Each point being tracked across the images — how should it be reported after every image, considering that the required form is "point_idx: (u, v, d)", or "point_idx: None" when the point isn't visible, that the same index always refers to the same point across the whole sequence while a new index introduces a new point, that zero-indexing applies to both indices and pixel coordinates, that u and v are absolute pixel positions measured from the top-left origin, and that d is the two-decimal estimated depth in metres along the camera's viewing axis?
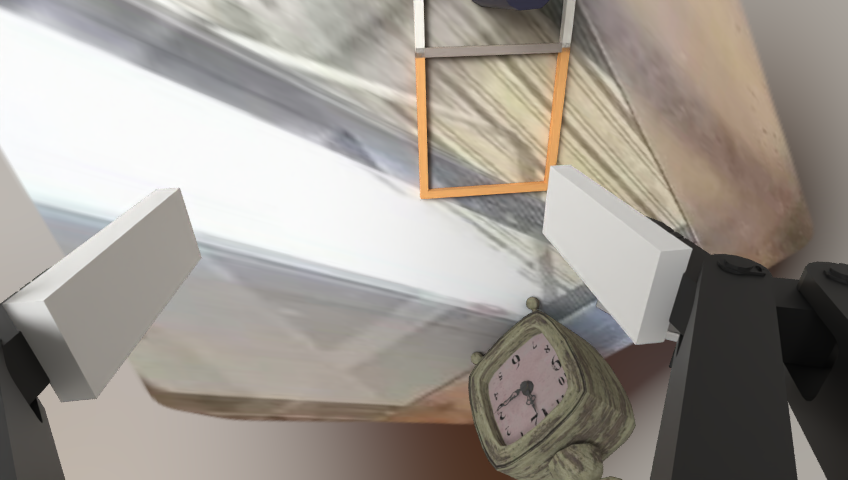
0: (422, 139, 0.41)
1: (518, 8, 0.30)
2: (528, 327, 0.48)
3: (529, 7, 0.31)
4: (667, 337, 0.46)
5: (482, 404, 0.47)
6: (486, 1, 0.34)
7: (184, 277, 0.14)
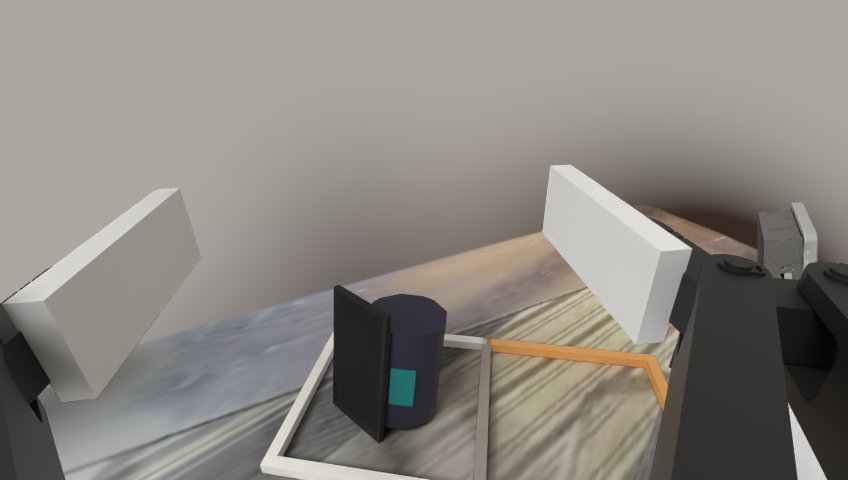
0: None
1: (443, 325, 0.28)
2: None
3: (444, 318, 0.29)
4: (808, 221, 0.39)
5: None
6: (430, 383, 0.29)
7: (184, 277, 0.14)
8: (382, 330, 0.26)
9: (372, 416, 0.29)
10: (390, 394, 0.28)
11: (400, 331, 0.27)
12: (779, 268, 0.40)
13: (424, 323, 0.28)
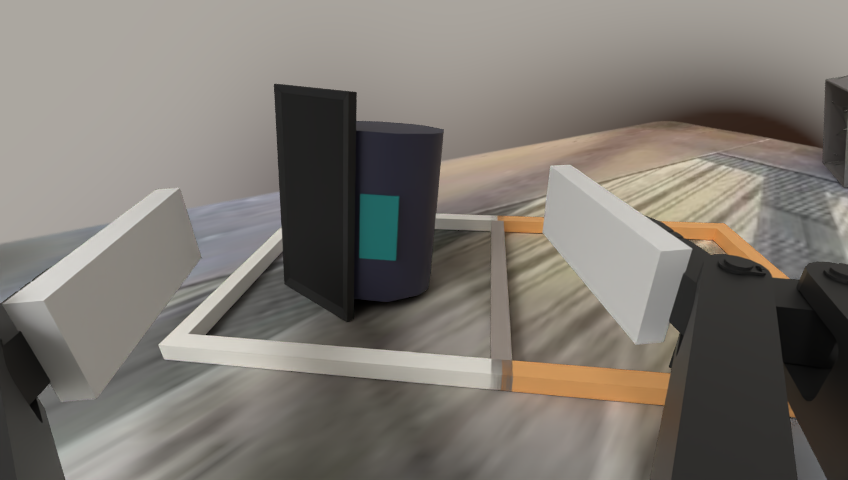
0: None
1: (439, 132, 0.19)
2: None
3: (440, 131, 0.19)
4: None
5: None
6: (421, 228, 0.19)
7: (184, 277, 0.14)
8: (344, 122, 0.17)
9: (336, 282, 0.20)
10: (361, 241, 0.19)
11: (373, 130, 0.17)
12: None
13: (411, 130, 0.19)
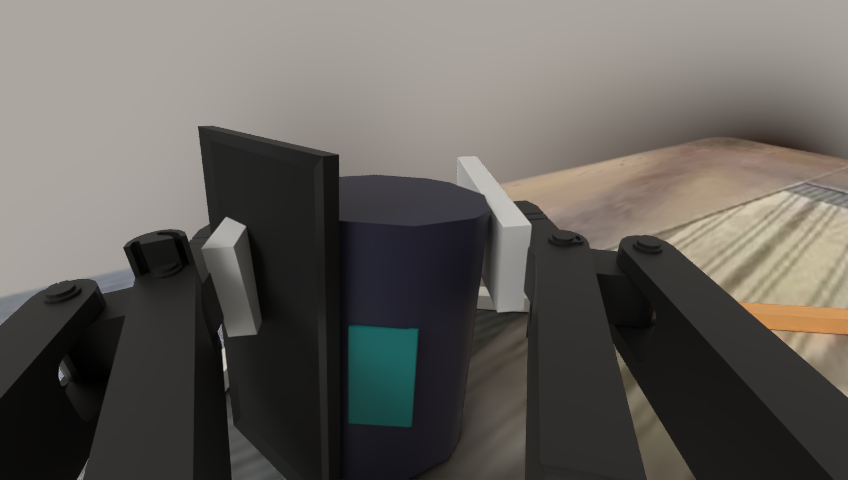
0: None
1: (484, 210, 0.11)
2: None
3: (482, 202, 0.12)
4: None
5: None
6: (453, 367, 0.12)
7: None
8: (315, 208, 0.09)
9: (311, 456, 0.12)
10: (351, 399, 0.11)
11: (371, 217, 0.10)
12: None
13: (435, 207, 0.11)
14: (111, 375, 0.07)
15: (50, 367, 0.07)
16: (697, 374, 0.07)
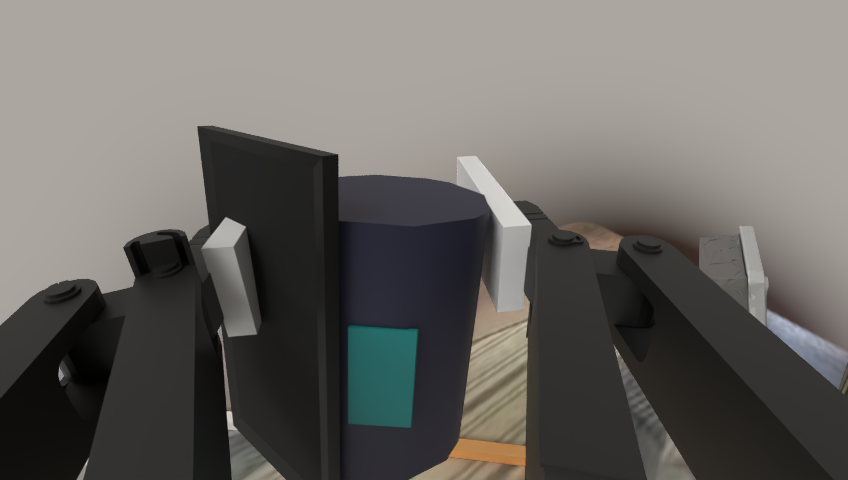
0: None
1: (484, 210, 0.11)
2: None
3: (482, 202, 0.12)
4: (755, 254, 0.30)
5: None
6: (453, 367, 0.11)
7: None
8: (315, 208, 0.09)
9: (310, 456, 0.12)
10: (351, 399, 0.11)
11: (370, 217, 0.10)
12: None
13: (435, 207, 0.11)
14: (111, 375, 0.07)
15: (50, 367, 0.07)
16: (697, 374, 0.07)
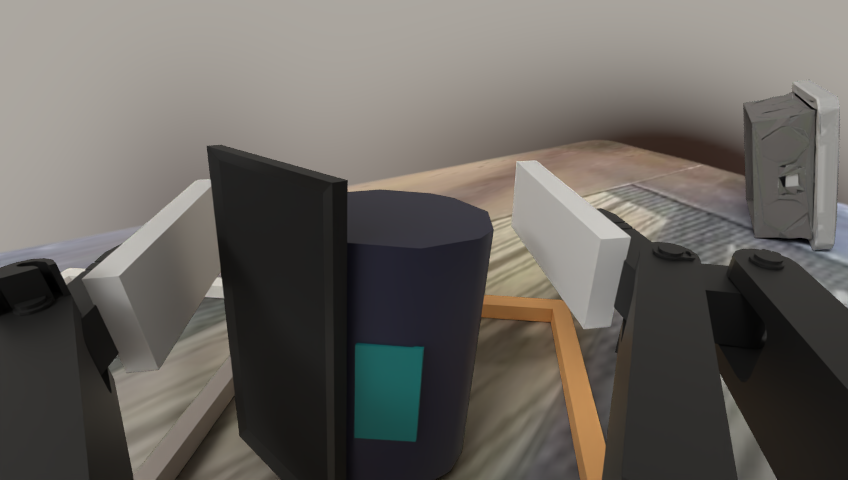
0: None
1: (488, 230, 0.11)
2: None
3: (486, 220, 0.12)
4: (821, 90, 0.25)
5: None
6: (457, 382, 0.12)
7: None
8: (324, 232, 0.09)
9: (317, 469, 0.12)
10: (357, 414, 0.11)
11: (378, 239, 0.10)
12: (778, 168, 0.25)
13: (440, 227, 0.11)
14: None
15: None
16: (810, 399, 0.07)
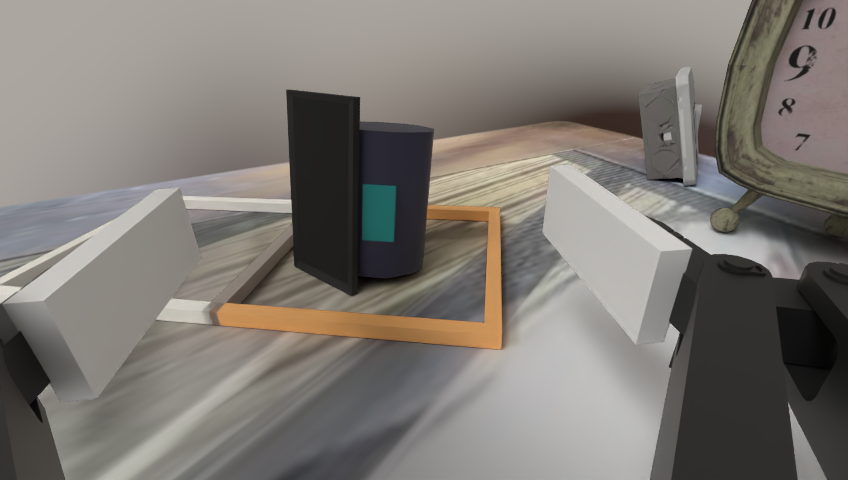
0: (366, 319, 0.20)
1: (430, 131, 0.22)
2: (763, 162, 0.24)
3: (431, 129, 0.22)
4: (686, 72, 0.35)
5: None
6: (415, 214, 0.22)
7: (184, 277, 0.14)
8: (349, 122, 0.20)
9: (342, 261, 0.23)
10: (363, 225, 0.22)
11: (373, 130, 0.20)
12: (657, 127, 0.36)
13: (405, 129, 0.22)
14: None
15: None
16: None
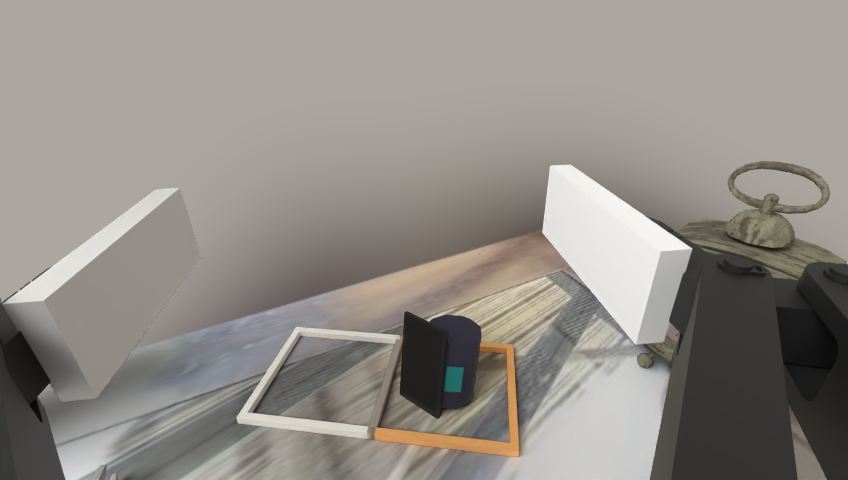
0: (451, 440, 0.40)
1: (480, 336, 0.42)
2: None
3: (479, 331, 0.42)
4: None
5: None
6: (471, 376, 0.42)
7: (184, 277, 0.14)
8: (442, 341, 0.40)
9: (432, 400, 0.43)
10: (445, 384, 0.42)
11: (453, 341, 0.40)
12: None
13: (467, 335, 0.42)
14: None
15: None
16: None
